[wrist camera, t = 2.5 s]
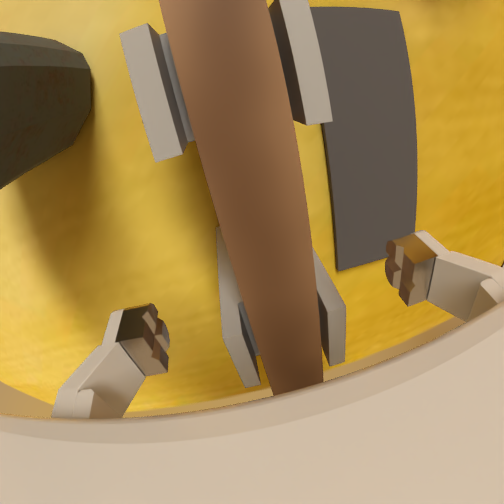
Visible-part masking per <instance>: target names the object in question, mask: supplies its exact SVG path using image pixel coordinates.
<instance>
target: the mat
mask: <svg viewBox="0 0 504 504" xmlns="http://www.w3.org/2000/svg"><path fill="white" fill-rule="evenodd" d="M310 10H311V14H312V18H313V22H314V26H315V31H316V35H317V39H318V44H319V48H320V53H321V58H322V62H323V67H324V73H325V78H326V83H327V89H328V95H329V100H330V107H331V113H332V120H333V121H332V122H325V123H321V124H322V131H323V137H324V144H325V152H326V159H327V167H328V175H329V184H330V194H331V203H332V214H333V226H334V239H335V254H336V268H337V270H338V271H342V270H345V269H349V268H352V267H356V266H359V265H363V264H366V263H369V262H373V261H376V260H380V259H383V258H386V257H389V255H388V253H387V252H386V245H387V242H388V241H390V240H393V239H397V238H400V237H403V236H407V235H410V234H411V233H414V232H415V220H416V203H417V135H416V118H415V105H414V95H413V86H412V78H411V71H410V64H409V58H408V52H407V46H406V41H405V36H404V31H403V27H402V22H401V18H400V14H399V11H392V10H383V9H372V8H357V7H310Z"/></svg>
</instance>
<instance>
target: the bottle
mask: <svg viewBox="0 0 504 504" xmlns="http://www.w3.org/2000/svg"><path fill="white" fill-rule="evenodd" d="M90 110H91V88H90V67H89V65H88V64H87V62H86V60H85V58H84V56H83V54H82V53H80V52H78V51H76V50H74V49H72V48H70V47H68V46H66V45H64V44H62V43H60V42H58V41H56V40H52V39H47V38H42V37H36V36H30V35H23V34H16V33H8V32H0V189H2V188H3V187H5V186H6V185H8V184H9V183H11V182H12V181H14V180H15V179H17V178H18V177H20V176H21V175H23V174H25V173H26V172H28V171H29V170H31V169H33V168H34V167H36V166H38V165H40V164H41V163H43V162H45V161H46V160H48V159H49V158H51V157H53V156H54V155H56V154H58V153H59V152H61V151H63V150H64V149H66V148H68V147H69V146H71V145H73V143H74V141H75V139H76V137H77V135H78V133H79V131H80V129H81V127H82V125H83V123H84V121H85V119H86V117H87V115H88V114H89V112H90Z"/></svg>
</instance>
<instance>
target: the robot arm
mask: <svg viewBox="0 0 504 504" xmlns="http://www.w3.org/2000/svg"><path fill="white" fill-rule="evenodd" d="M386 252H387V253H388V255H389V257H388V258H387V260H386V262H385V272H386V277H387V279H388V281H389V283H390V284H391V285H392V287H394V288H397V289H399V296H400V297H401V298H402V300H403V301H404V302H405V304H406V305H407V306H411V305H414V304H416V303H419V302H422V301H424V300H427V301H429V302H431V303H432V304H434V305H436V306H438V307H440V308H442V309H443V310H445V311H447V312H449V313H451V314H452V315H454V316H456V317H458V318H460V319H461V320H463V321H465V322H466V323H464V324H462V325H460V326H458V327H456V328H455V329H453V330H451V331H449V332H447V333H445V334H443V335H441V336H439V337H437V338H435V339H432V340H431V341H428V342H426V343H424V344H422V345H420V346H417V347H415V348H413V349H411V350H408V351H406V352H404V353H401V354H399V355H397V356H394V357H392V358H389V359H387V360H385V361H382V362H379V363H377V364H374V365H372V366H369V367H366V368H364V369H361V370H358V371H355V372H352V373H349V374H347V375H344V376H341V377H338V378H335V379H331V380H328V381H325V382H322V383H319V384H315V385H312V386H309V387H305V388H302V389H298V390H294V391H291V392H287V393H283V394H279V395H275V396H271V397H267V398H262V399H258V400H253V401H249V402H244V403H239V404H234V405H229V406H223V407H218V408H212V409H205V410H199V411H192V412H185V413H176V414H167V415H159V416H147V417H134V418H122V416H123V415H124V413H125V411H126V410H127V408H128V406H129V405H130V403H131V401H132V400H133V398H134V396H135V395H136V393H137V391H138V390H139V388H140V386H141V385H142V383H143V381H144V380H145V378H146V377H145V376H150V375H156V374H161V373H167V372H168V358H169V357H168V355H167V354H166V350H167V349H168V348H169V342H170V339H169V333H168V330H167V327H166V325H165V323H164V321H163V320H161V319H159V318H157V315H158V311H157V309H156V307H155V306H154V304H151V303H149V304H144V305H139V306H134V307H129V308H125V309H120V310H116V311H113V312H112V313H111V315H110V318H109V321H108V325H107V328H106V331H105V335H104V338H103V342H102V345H99V346H97V347H96V348H95V350H94V351H93V352H92V353H91V354H90V355H89V356H88V357H87V358H86V359H85V360H84V362H83V363H82V364H81V365H80V366H79V367H78V368H77V369H76V370H75V372H74V373H73V374H72V375H71V376H70V377H69V378H68V379H67V381H66V382H65V383H64V384H63V385H62V386H61V387H60V389H59V390H58V393H57V397H56V400H55V404H54V408H53V412H52V416H51V418H44V417H31V416H21V415H12V414H5V413H0V504H504V265H503V267H500V266H497V265H494V264H491V263H488V262H485V261H482V260H479V259H476V258H473V257H470V256H467V255H464V254H461V253H457V252H454V251H451V252H449V251H448V250H447V249H446V248H445V247H443V246H442V245H441V244H440V243H439V242H438V241H437V240H435V239H434V238H433V237H432V236H431V235H430V234H428V233H427V232H426V231H424V230H420V231H417V232H414V233H411V234H410V235H407V236H403V237H400V238H397V239H393V240H390V241H388V242H387V245H386Z"/></svg>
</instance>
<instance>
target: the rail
mask: <svg viewBox="0 0 504 504" xmlns="http://www.w3.org/2000/svg"><path fill="white" fill-rule="evenodd" d="M159 3H160V7H161V11H162V15H163V19H164V23H165V27H166V31H167V36H168V39H169V43H170V47H171V51H172V55H173V59H174V63H175V67H176V71H177V75H178V78H179V82H180V86H181V90H182V94H183V97H184V101H185V105H186V108H187V112H188V116H189V120H190V123H191V127H192V130H193V134H194V138H195V141H196V145H197V148H198V152H199V156H200V159H201V163H202V166H203V170H204V173H205V177H206V180H207V184H208V187H209V190H210V194H211V197H212V201H213V204H214V208H215V211H216V214H217V218H218V221H219V224H220V228H221V231H222V234H223V238H224V241H225V244H226V248H227V251H228V254H229V258H230V261H231V264H232V267H233V271H234V274H235V277H236V280H237V284H238V287H239V290H240V293H241V296H242V300H243V303H244V306H245V309H246V312H247V315H248V318H249V322H250V325H251V328H252V331H253V334H254V337H255V340H256V343H257V346H258V349H259V352H260V356H261V359H262V362H263V365H264V368H265V371H266V374H267V377H268V380H269V383H270V386H271V389H272V392H273V395H274V396H275V395H279V394H283V393H287V392H291V391H294V390H298V389H302V388H305V387H309V386H312V385H315V384H319V383H322V382H323V365H322V348H321V333H320V320H319V308H318V297H317V286H316V276H315V267H314V258H313V249H312V241H311V232H310V225H309V217H308V210H307V202H306V195H305V189H304V182H303V175H302V169H301V163H300V157H299V151H298V145H297V139H296V134H295V128H294V123H293V117H292V112H291V107H290V102H289V97H288V92H287V87H286V82H285V78H284V73H283V68H282V64H281V59H280V55H279V51H278V46H277V42H276V38H275V34H274V30H273V26H272V22H271V18H270V14H269V10H268V7H267V3H266V0H159Z"/></svg>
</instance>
